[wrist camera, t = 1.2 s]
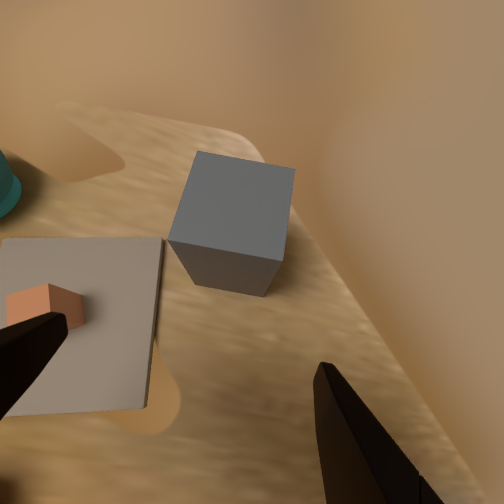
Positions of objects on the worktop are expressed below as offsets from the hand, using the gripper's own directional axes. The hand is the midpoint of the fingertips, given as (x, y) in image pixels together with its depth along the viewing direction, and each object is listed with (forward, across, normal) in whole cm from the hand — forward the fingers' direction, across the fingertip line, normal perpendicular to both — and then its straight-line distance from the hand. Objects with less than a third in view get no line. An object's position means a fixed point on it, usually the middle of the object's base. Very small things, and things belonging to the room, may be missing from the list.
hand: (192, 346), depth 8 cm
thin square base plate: (+10, +13, +9) cm, 18 cm away
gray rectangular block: (+15, 0, +4) cm, 15 cm away
